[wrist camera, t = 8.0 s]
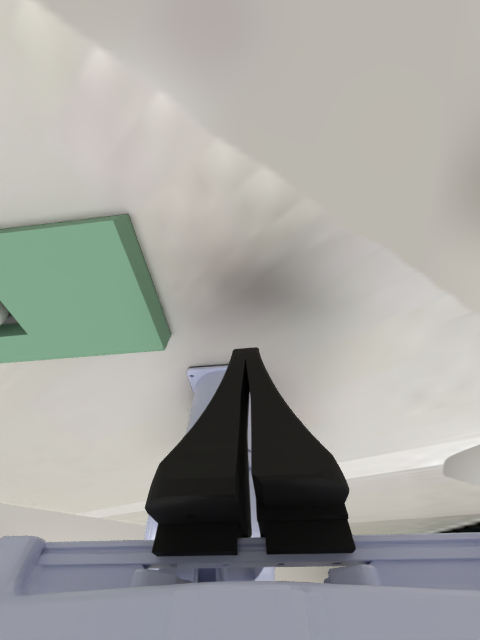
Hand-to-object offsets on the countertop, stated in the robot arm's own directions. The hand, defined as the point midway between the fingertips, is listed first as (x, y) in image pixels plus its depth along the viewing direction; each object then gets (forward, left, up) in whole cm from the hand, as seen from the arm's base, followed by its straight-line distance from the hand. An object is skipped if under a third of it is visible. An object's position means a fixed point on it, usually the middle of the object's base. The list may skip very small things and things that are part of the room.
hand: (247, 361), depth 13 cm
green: (+1, +18, -10) cm, 21 cm away
